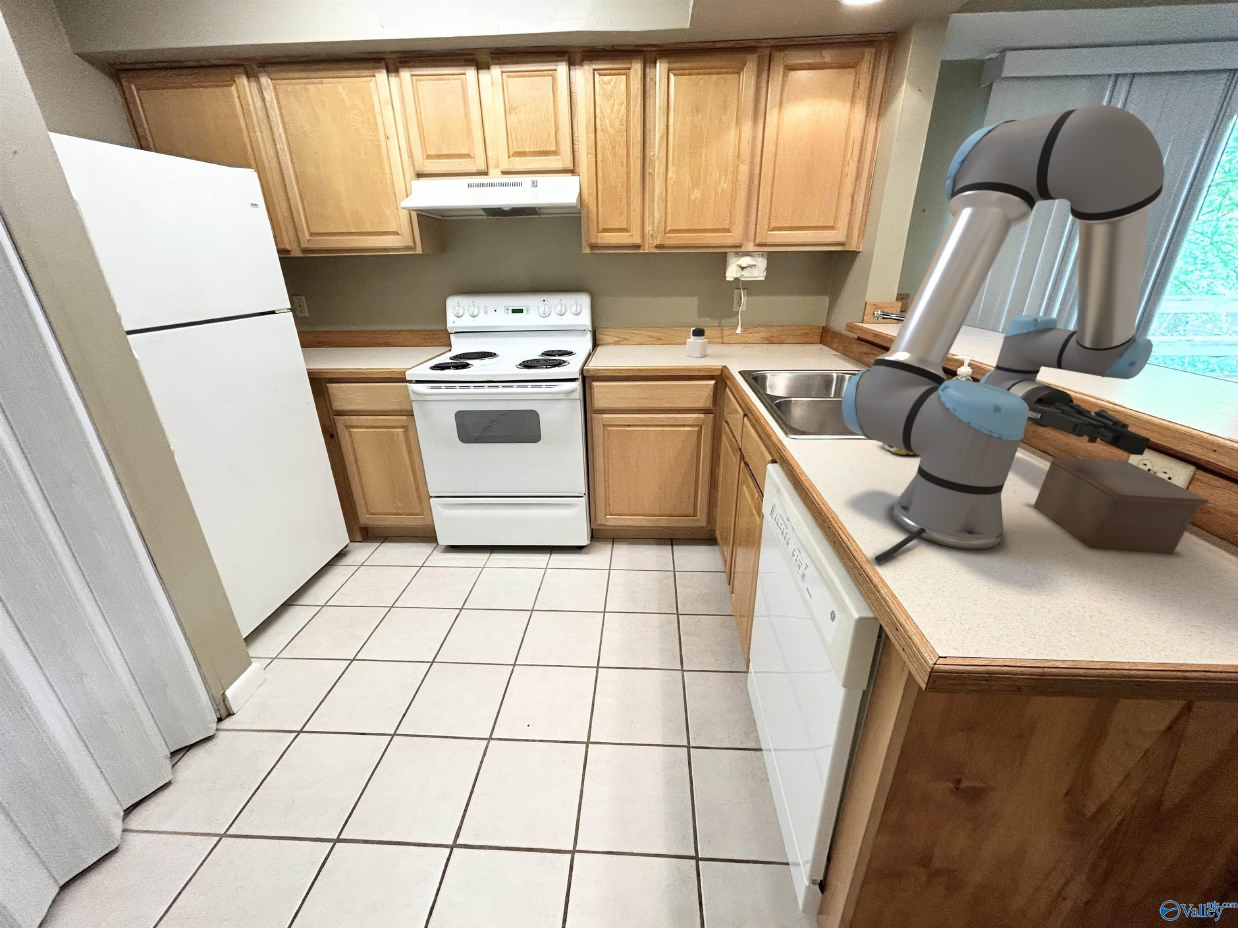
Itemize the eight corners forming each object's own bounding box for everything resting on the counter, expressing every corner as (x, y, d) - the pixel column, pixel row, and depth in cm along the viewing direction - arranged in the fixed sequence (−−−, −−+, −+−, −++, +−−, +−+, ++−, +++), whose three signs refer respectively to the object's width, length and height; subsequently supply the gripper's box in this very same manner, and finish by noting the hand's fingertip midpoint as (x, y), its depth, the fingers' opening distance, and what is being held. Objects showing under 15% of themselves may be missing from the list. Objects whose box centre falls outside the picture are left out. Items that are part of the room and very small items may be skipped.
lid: (1206, 505, 70) (1209, 500, 70) (1117, 499, 72) (1120, 494, 71) (1124, 465, 83) (1126, 461, 83) (1051, 461, 85) (1052, 457, 84)
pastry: (915, 445, 116) (920, 430, 115) (935, 456, 110) (939, 440, 109) (878, 445, 116) (882, 430, 114) (895, 456, 109) (899, 441, 108)
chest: (1173, 553, 74) (1201, 502, 71) (1090, 547, 76) (1113, 497, 72) (1103, 511, 87) (1124, 465, 83) (1033, 506, 88) (1051, 461, 85)
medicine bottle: (706, 355, 217) (709, 327, 212) (700, 358, 211) (702, 329, 207) (692, 353, 221) (694, 326, 216) (685, 356, 215) (687, 328, 210)
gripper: (1067, 423, 97) (1177, 471, 75) (997, 420, 98) (1085, 466, 77) (1082, 386, 94) (1200, 425, 72) (1009, 384, 95) (1104, 421, 74)
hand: (1141, 446), depth 75 cm, fingers closed
